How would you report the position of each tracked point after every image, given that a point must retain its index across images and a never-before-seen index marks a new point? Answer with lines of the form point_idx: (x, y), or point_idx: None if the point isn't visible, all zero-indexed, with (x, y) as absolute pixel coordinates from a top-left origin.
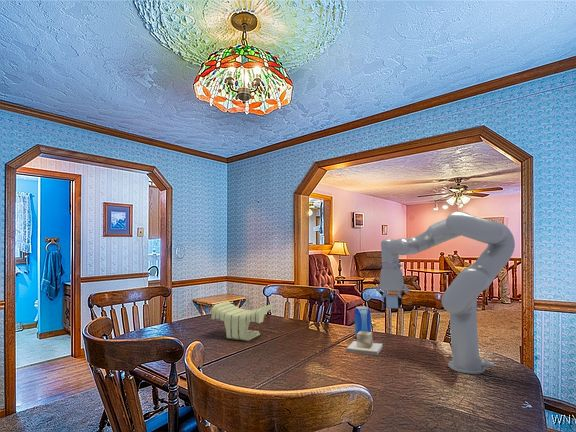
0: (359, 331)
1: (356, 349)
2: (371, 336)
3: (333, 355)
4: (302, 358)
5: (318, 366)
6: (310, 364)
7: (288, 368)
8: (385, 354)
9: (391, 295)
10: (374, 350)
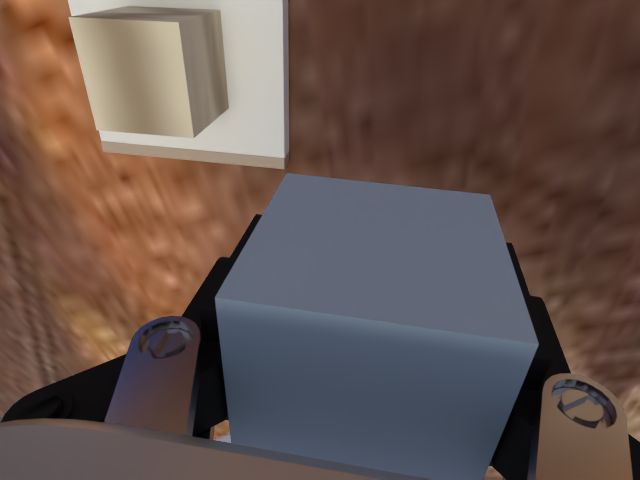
0: (75, 35)
1: (161, 152)
2: (195, 56)
3: (88, 211)
4: (5, 276)
5: (111, 336)
6: (75, 324)
7: (40, 365)
8: (332, 120)
9: (324, 367)
10: (263, 137)
